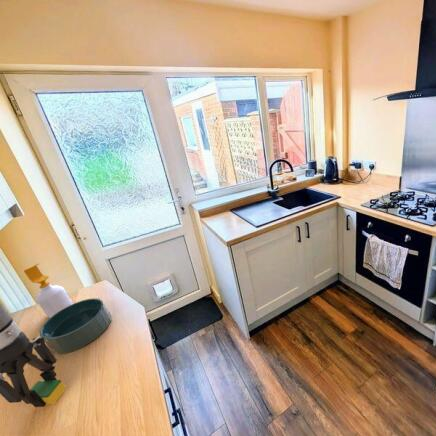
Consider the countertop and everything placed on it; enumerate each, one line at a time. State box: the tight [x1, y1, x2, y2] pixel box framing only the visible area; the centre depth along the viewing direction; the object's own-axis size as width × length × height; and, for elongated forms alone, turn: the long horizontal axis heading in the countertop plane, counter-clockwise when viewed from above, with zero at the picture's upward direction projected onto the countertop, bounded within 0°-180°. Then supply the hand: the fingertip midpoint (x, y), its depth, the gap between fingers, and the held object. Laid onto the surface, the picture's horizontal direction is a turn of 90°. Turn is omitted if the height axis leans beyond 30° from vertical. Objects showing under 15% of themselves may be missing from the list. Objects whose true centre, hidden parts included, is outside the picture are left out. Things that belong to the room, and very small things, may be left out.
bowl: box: [39, 297, 112, 354], centre depth 95 cm, size 19×19×8 cm
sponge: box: [29, 379, 67, 406], centre depth 72 cm, size 7×4×4 cm, turn 90°
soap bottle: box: [23, 263, 74, 319], centre depth 104 cm, size 9×9×25 cm
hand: (48, 395), depth 73 cm, fingers closed on sponge, 4 cm apart
